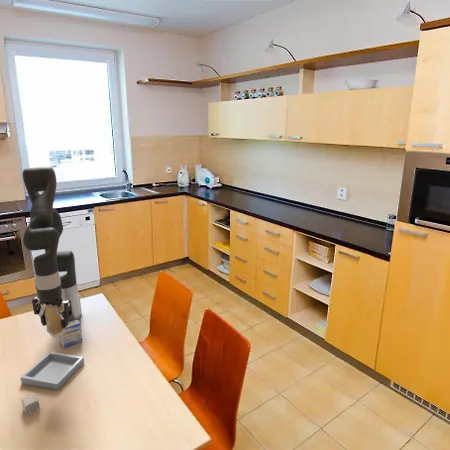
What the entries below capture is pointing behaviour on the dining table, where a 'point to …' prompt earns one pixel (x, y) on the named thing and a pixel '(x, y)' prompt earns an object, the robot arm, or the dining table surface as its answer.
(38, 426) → the dining table surface
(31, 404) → the usb wall charger
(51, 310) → the skincare box
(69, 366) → the tray
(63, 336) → the medicine box
